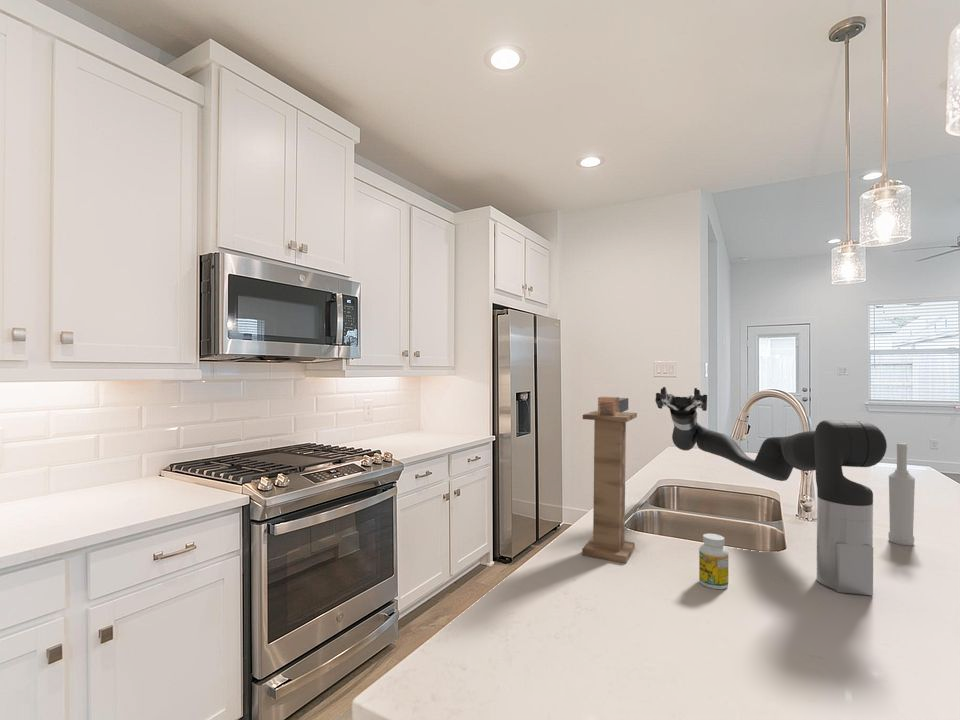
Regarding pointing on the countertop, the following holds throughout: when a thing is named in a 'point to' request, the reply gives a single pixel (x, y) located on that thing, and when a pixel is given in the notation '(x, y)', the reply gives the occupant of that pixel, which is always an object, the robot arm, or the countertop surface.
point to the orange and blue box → (612, 405)
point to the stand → (609, 488)
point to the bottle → (901, 500)
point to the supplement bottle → (713, 562)
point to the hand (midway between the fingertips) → (679, 390)
